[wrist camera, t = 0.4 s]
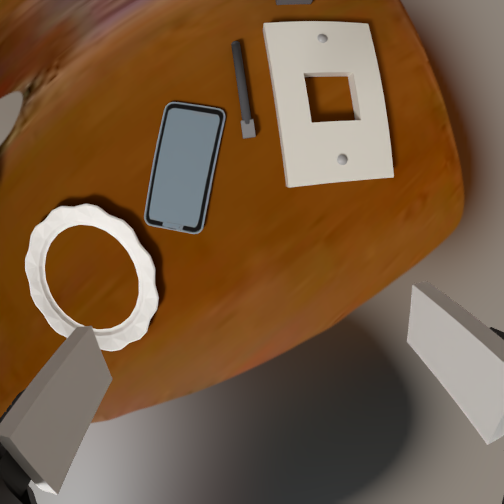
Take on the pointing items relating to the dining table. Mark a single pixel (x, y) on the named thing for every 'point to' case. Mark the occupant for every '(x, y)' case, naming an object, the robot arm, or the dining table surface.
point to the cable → (242, 92)
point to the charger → (293, 2)
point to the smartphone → (184, 167)
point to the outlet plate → (335, 132)
